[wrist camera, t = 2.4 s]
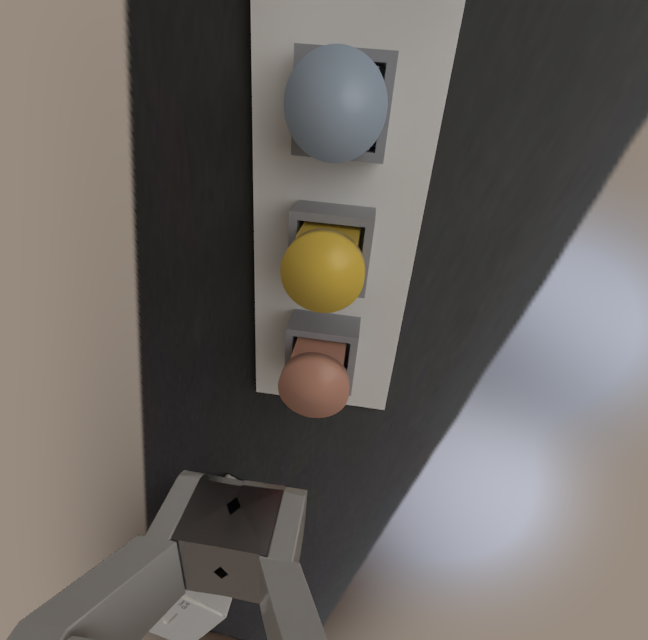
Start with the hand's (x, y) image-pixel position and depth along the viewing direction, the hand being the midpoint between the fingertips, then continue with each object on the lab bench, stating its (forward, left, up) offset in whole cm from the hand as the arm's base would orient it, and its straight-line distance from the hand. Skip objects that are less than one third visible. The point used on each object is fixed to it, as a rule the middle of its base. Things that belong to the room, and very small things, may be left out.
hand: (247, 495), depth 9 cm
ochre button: (0, 0, -18) cm, 18 cm away
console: (0, 0, -21) cm, 21 cm away
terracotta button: (+8, 0, -18) cm, 20 cm away
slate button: (-8, 0, -18) cm, 20 cm away
